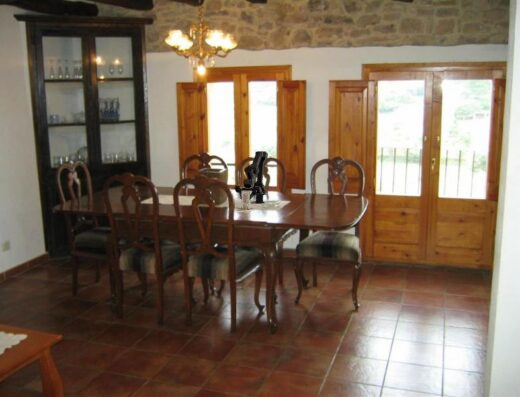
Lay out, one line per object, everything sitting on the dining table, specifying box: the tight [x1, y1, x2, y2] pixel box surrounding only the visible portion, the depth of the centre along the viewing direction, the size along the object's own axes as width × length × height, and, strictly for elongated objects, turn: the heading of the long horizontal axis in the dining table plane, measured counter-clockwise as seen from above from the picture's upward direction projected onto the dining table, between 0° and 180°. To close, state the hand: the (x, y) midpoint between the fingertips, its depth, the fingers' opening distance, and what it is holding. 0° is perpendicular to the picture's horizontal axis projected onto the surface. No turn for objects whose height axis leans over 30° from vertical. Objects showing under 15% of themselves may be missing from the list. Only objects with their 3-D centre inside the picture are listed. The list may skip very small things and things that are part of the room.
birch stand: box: [234, 193, 253, 213], centre depth 389 cm, size 11×10×13 cm
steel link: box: [241, 190, 251, 209], centre depth 393 cm, size 2×6×12 cm, turn 74°
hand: (245, 199), depth 391 cm, fingers closed on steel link, 6 cm apart
